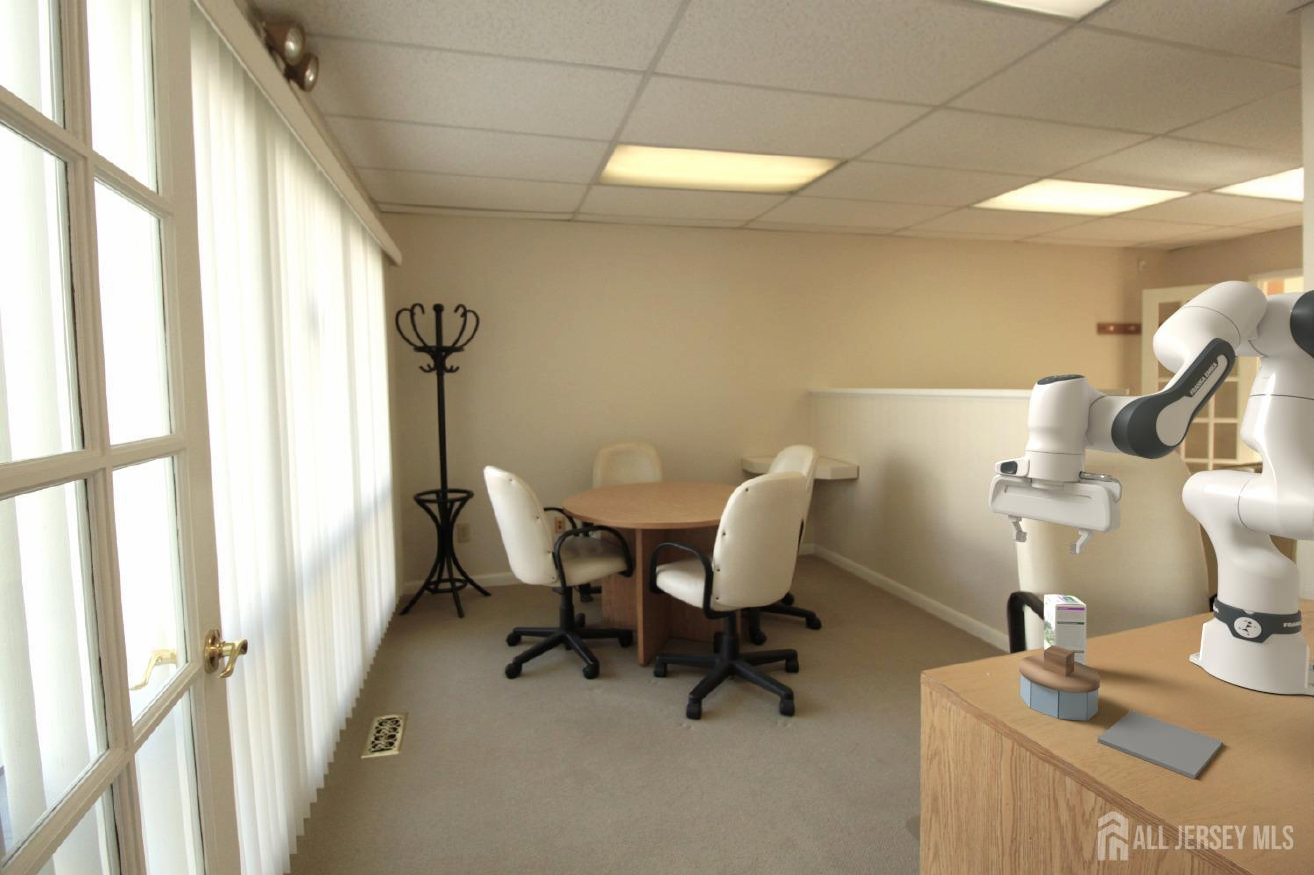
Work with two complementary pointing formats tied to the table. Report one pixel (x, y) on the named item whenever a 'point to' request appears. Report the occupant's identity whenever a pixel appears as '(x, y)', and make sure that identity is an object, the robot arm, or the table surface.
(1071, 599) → the syrup box
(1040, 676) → the lid
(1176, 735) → the mat
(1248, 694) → the table surface
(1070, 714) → the bowl
